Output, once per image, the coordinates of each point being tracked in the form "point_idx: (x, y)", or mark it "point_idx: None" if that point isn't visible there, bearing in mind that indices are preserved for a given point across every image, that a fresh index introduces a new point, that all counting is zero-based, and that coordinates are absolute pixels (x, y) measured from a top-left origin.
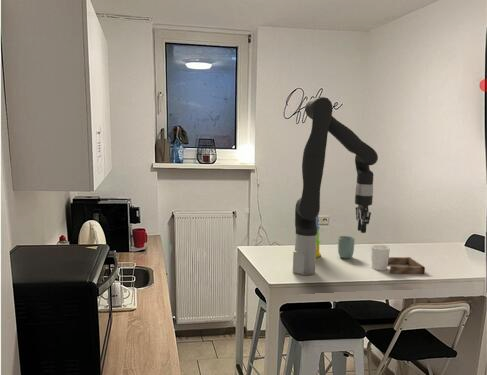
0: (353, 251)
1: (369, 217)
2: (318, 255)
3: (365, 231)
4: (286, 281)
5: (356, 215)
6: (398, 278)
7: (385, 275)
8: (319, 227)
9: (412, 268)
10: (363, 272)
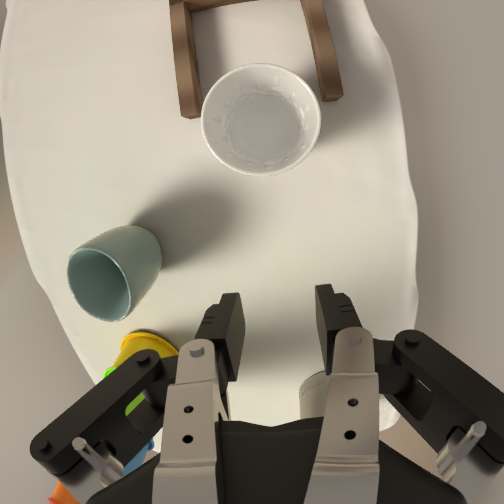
0: (136, 230)
1: (489, 391)
2: (160, 341)
3: (345, 295)
4: (389, 411)
5: (144, 430)
6: (386, 94)
7: (359, 132)
8: None
9: (323, 14)
10: (331, 214)
